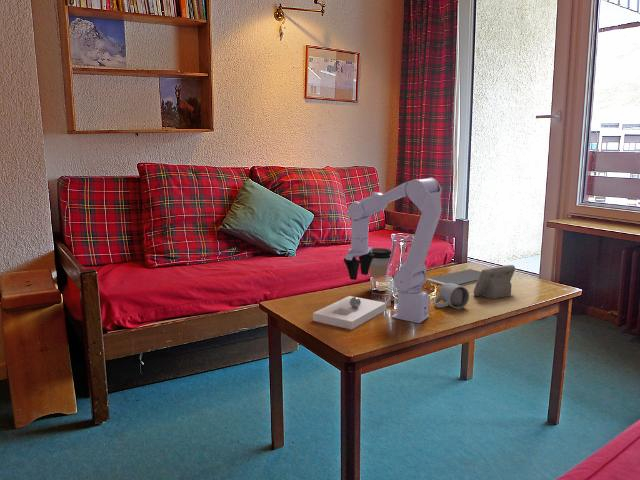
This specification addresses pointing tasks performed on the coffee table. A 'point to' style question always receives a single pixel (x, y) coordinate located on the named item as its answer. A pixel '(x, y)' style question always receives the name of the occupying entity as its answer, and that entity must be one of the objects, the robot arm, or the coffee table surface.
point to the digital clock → (495, 282)
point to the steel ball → (355, 302)
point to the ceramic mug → (452, 296)
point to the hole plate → (349, 313)
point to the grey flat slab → (457, 278)
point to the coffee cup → (379, 262)
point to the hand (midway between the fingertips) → (358, 276)
